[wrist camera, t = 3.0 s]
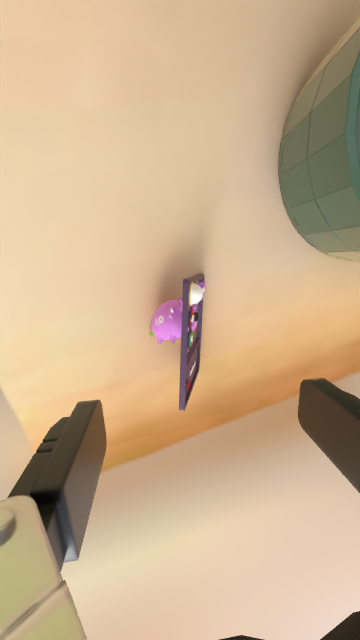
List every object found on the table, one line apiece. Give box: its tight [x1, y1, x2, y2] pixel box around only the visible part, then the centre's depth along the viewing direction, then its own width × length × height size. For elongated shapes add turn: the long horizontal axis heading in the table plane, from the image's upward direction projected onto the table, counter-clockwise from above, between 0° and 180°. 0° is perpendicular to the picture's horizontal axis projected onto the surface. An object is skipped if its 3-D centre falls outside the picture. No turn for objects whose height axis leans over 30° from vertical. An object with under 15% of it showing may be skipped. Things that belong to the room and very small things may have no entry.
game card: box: [149, 274, 206, 411], centre depth 19 cm, size 7×5×9 cm
